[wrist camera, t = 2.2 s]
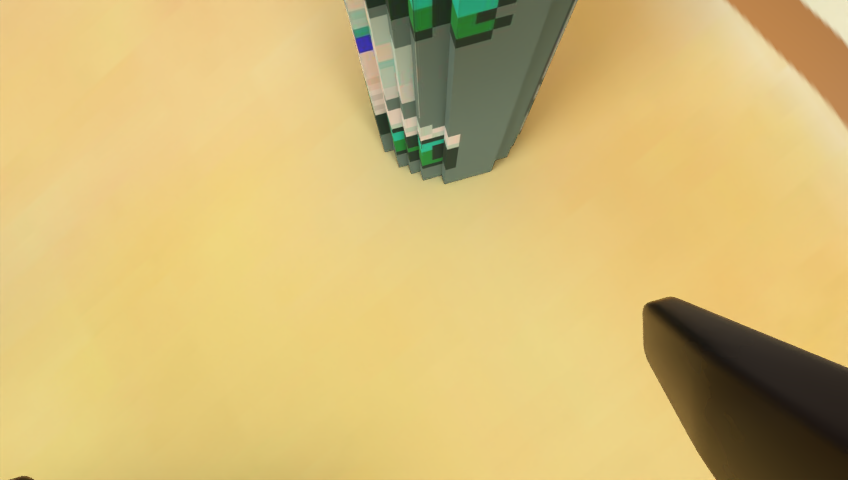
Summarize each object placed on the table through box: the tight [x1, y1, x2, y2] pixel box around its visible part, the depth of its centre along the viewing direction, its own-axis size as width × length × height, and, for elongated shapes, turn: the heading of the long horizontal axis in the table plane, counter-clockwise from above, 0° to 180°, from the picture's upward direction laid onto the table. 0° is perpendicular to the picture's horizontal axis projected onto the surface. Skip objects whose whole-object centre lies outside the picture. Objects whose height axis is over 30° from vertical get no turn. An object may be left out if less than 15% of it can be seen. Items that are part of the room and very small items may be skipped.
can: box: [344, 0, 578, 184], centre depth 17 cm, size 6×6×15 cm
